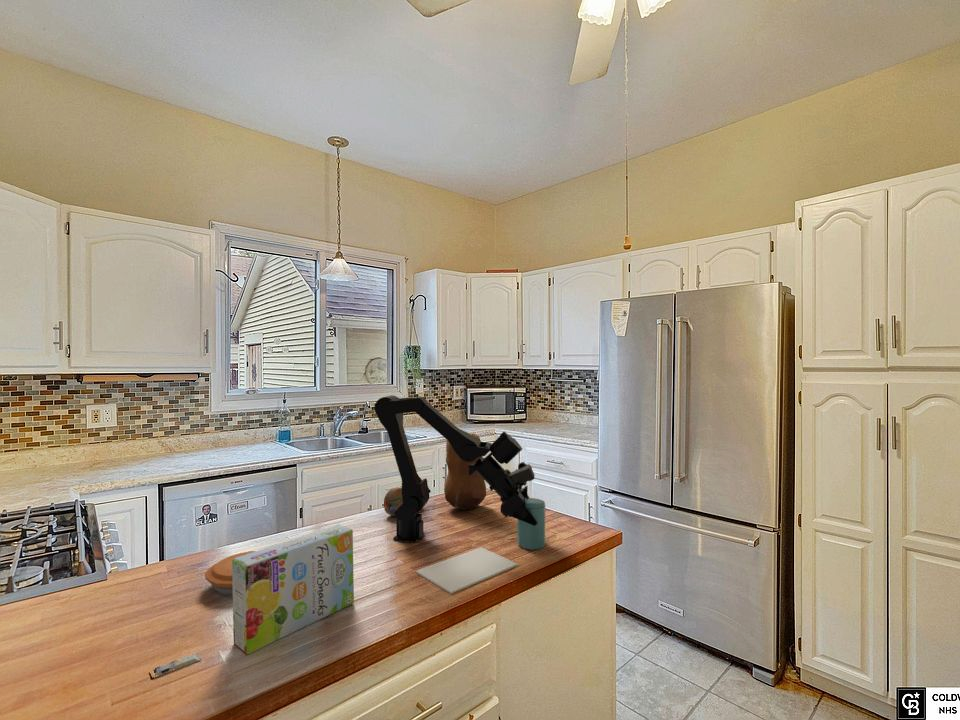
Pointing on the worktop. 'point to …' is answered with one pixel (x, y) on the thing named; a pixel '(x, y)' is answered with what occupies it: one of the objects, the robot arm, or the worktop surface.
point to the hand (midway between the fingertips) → (536, 519)
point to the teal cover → (532, 526)
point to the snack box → (291, 586)
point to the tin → (393, 500)
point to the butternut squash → (462, 482)
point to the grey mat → (466, 569)
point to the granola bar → (176, 664)
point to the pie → (223, 575)
